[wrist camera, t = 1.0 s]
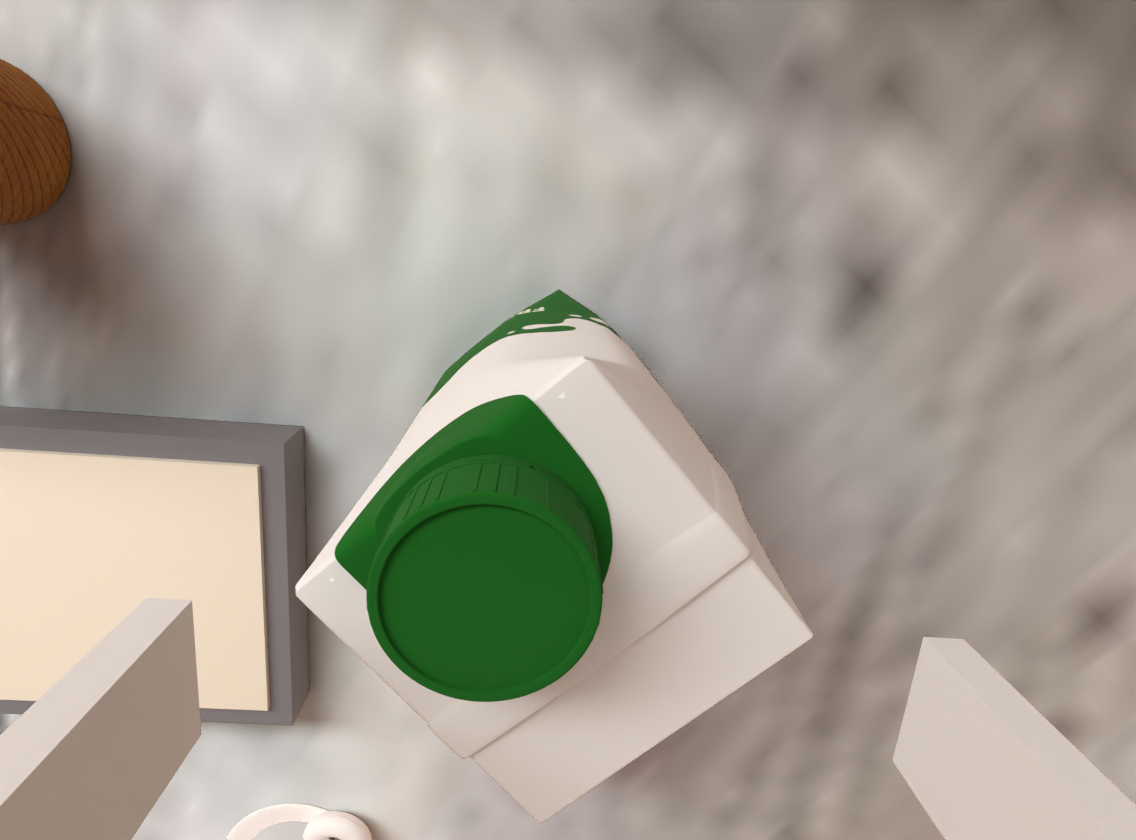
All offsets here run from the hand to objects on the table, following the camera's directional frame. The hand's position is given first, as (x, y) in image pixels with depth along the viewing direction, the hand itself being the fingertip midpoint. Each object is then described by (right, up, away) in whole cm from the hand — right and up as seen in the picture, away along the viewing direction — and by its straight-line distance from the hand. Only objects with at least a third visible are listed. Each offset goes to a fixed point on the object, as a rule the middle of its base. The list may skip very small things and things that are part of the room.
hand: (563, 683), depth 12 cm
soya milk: (-1, +6, +19) cm, 20 cm away
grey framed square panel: (-19, -2, +20) cm, 28 cm away
